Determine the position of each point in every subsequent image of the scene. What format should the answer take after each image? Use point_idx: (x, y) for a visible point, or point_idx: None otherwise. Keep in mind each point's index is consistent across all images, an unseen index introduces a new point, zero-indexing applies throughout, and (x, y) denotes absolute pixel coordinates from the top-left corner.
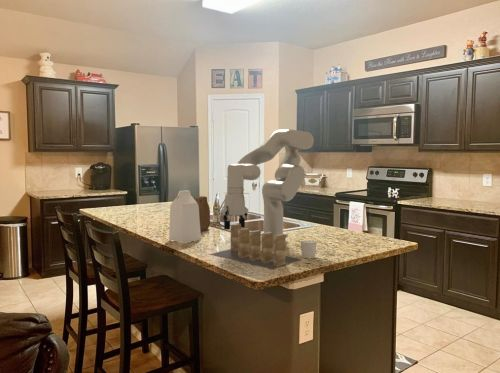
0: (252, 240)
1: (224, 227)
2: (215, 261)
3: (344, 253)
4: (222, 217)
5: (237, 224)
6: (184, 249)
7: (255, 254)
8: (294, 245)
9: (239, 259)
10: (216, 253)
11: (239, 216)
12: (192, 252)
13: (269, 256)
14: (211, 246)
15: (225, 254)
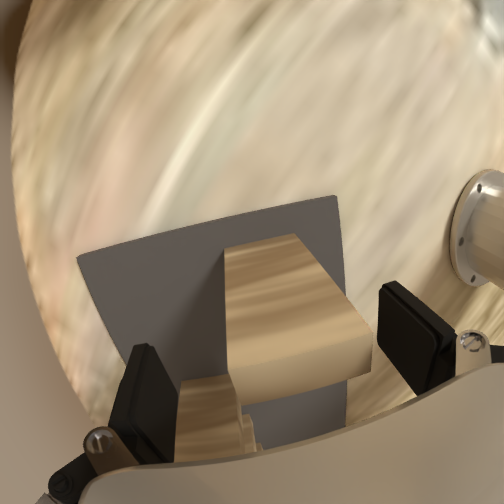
0: None
1: (134, 357)
2: (81, 352)
3: None
4: (64, 475)
5: (310, 389)
6: (45, 50)
7: None
8: (491, 298)
9: None
10: (115, 263)
11: (455, 367)
12: (39, 135)
13: None
14: (205, 40)
15: (150, 310)
